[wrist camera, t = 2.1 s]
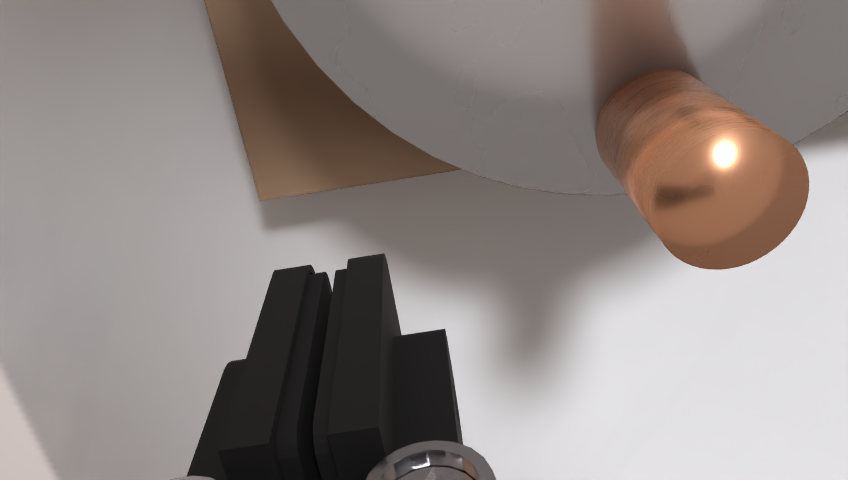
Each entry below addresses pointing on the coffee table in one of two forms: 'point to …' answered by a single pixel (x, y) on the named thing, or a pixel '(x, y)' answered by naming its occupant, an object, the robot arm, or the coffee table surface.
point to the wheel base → (301, 112)
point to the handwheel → (605, 99)
